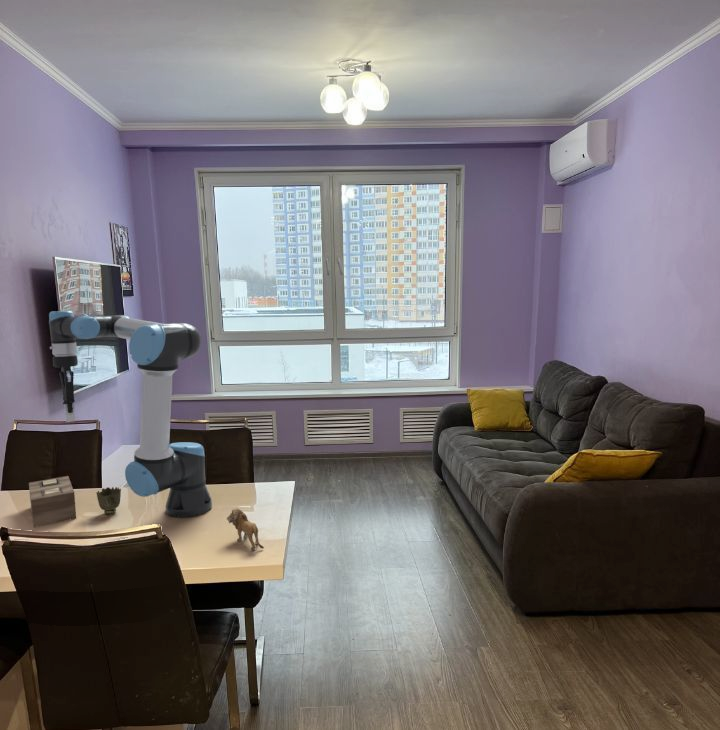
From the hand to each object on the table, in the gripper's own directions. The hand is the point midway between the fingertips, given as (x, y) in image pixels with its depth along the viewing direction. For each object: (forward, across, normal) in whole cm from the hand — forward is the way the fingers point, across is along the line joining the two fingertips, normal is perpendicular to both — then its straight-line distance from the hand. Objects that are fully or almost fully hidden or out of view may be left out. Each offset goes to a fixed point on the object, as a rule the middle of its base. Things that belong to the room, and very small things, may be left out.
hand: (70, 421), depth 183 cm
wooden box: (+29, +7, -8) cm, 31 cm away
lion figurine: (+31, +68, +34) cm, 82 cm away
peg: (+28, +2, -8) cm, 29 cm away
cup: (+30, +20, +7) cm, 36 cm away
